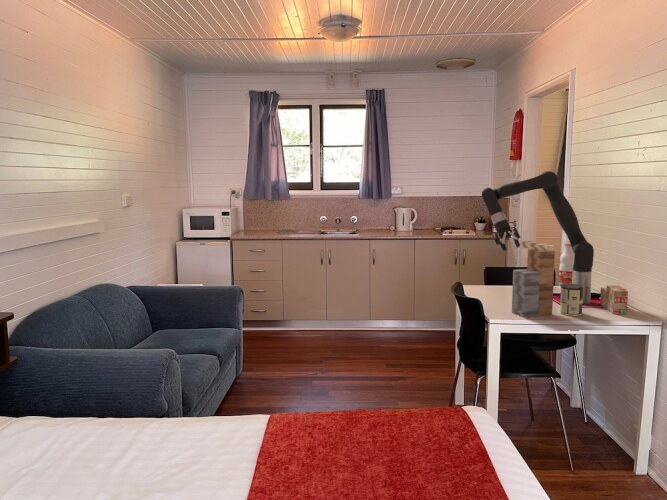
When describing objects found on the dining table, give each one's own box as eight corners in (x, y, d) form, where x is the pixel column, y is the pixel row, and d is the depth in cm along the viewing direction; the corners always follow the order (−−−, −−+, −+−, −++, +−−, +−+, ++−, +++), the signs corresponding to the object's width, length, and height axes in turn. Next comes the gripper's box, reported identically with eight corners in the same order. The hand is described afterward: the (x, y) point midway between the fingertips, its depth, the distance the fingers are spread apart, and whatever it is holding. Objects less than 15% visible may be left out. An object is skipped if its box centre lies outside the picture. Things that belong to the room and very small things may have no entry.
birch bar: (554, 251, 247) (554, 245, 247) (546, 252, 246) (547, 246, 246) (528, 246, 266) (528, 241, 266) (521, 247, 266) (521, 241, 265)
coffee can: (571, 310, 263) (573, 283, 261) (586, 315, 253) (588, 286, 251) (554, 311, 260) (556, 284, 258) (569, 316, 250) (570, 288, 249)
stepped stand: (552, 315, 254) (554, 251, 250) (523, 317, 250) (526, 252, 246) (539, 310, 264) (541, 248, 259) (511, 312, 260) (513, 250, 255)
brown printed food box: (599, 304, 274) (601, 281, 273) (612, 304, 273) (613, 281, 272) (612, 314, 254) (614, 290, 252) (626, 315, 252) (628, 290, 251)
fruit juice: (578, 290, 309) (581, 243, 305) (569, 292, 304) (571, 245, 300) (564, 287, 317) (566, 242, 313) (555, 289, 312) (557, 243, 308)
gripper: (492, 222, 276) (504, 249, 272) (514, 216, 280) (526, 243, 276) (485, 227, 283) (497, 254, 279) (507, 221, 287) (519, 248, 283)
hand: (512, 248), depth 277 cm, fingers open, 8 cm apart
